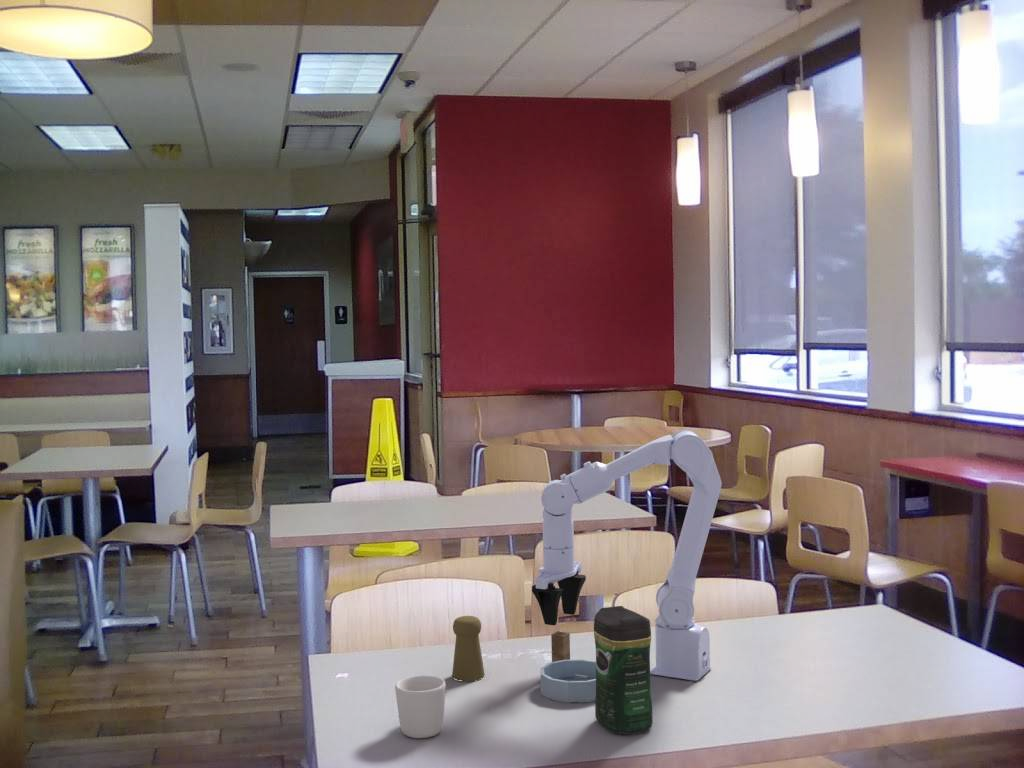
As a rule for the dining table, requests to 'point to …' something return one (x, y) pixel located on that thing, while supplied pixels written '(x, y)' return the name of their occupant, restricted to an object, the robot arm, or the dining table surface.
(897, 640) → the dining table surface
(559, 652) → the long wooden beam
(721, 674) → the dining table surface
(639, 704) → the coffee jar
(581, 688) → the pale blue round tray
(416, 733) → the cup
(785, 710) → the dining table surface
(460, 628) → the cork
